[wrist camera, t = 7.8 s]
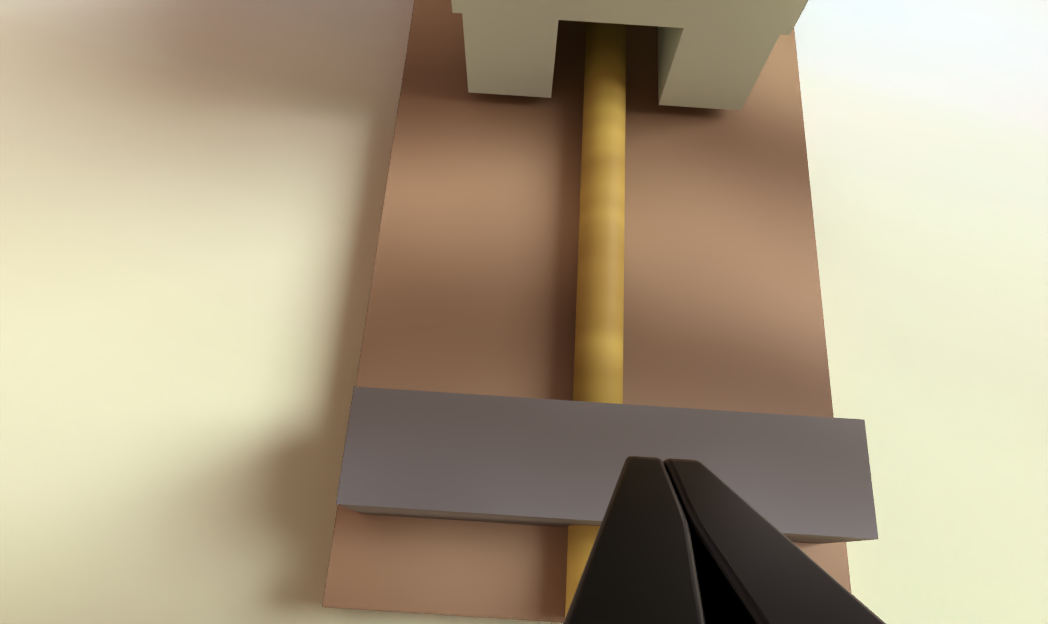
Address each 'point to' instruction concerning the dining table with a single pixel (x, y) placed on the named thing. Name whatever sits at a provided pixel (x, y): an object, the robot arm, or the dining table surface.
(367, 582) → the brown board with bar
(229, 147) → the dining table surface
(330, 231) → the dining table surface
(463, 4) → the tall pale green box
